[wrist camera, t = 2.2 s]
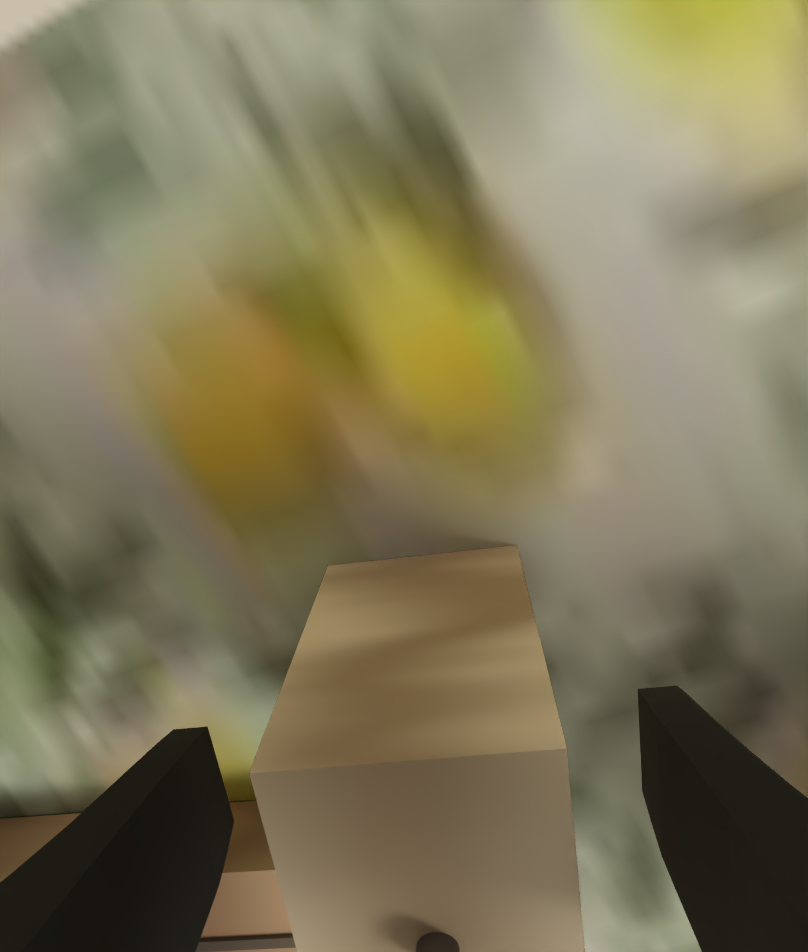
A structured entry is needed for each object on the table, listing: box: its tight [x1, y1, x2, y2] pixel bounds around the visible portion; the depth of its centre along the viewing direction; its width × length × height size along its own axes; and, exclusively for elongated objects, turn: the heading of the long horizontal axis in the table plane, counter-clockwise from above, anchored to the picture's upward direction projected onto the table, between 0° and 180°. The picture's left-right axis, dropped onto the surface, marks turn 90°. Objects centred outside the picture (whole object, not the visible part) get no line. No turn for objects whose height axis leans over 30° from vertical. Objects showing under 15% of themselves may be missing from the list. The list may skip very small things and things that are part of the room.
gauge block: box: [249, 545, 585, 952], centre depth 11 cm, size 4×4×7 cm
